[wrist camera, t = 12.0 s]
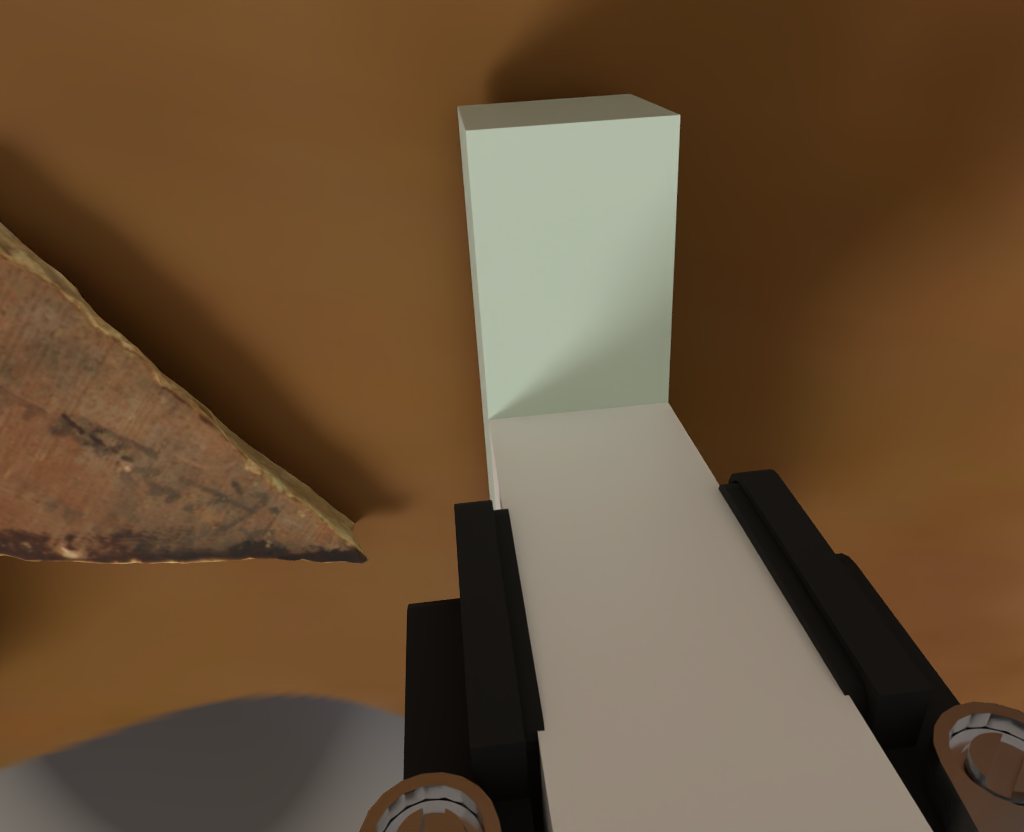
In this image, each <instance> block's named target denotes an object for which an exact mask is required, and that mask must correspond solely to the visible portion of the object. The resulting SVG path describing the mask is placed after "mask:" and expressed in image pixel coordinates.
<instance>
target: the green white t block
mask: <svg viewBox="0 0 1024 832" xmlns="http://www.w3.org/2000/svg"><path fill="white" fill-rule="evenodd" d="M457 107H458V119H459V131H460V143H461V155H462V167H463V179H464V191H465V203H466V215H467V228H468V240H469V252H470V264H471V276H472V288H473V300H474V312H475V324H476V336H477V348H478V360H479V372H480V384H481V396H482V408H483V420H484V432H485V444H486V456H487V468H488V480H489V492H490V500H492V502H493V509H494V510H499V509H508V510H509V515H510V521H511V527H512V533H513V539H514V545H515V551H516V557H517V563H518V569H519V575H520V581H521V587H522V593H523V599H524V605H525V611H526V617H527V623H528V629H529V635H530V641H531V647H532V653H533V659H534V665H535V671H536V677H537V683H538V689H539V695H540V701H541V707H542V714H543V720H544V728H545V731H537V732H538V741H539V752H540V769H541V787H542V805H543V824H544V832H933V831H932V829H931V827H930V826H929V824H928V822H927V821H926V819H925V818H924V816H923V814H922V813H921V811H920V809H919V808H918V806H917V805H916V803H915V801H914V800H913V798H912V797H911V795H910V793H909V792H908V790H907V788H906V787H905V785H904V784H903V782H902V780H901V779H900V777H899V775H898V774H897V772H896V771H895V769H894V767H893V766H892V764H891V763H890V761H889V759H888V758H887V756H886V754H885V753H884V751H883V750H882V748H881V746H880V745H879V743H878V741H877V740H876V738H875V737H874V735H873V733H872V732H871V730H870V728H869V727H868V725H867V724H866V722H865V720H864V719H863V717H862V716H861V714H860V712H859V711H858V709H857V707H856V706H855V704H854V703H853V701H852V699H851V698H850V696H849V695H846V696H845V695H844V694H843V692H842V691H841V689H840V687H839V686H838V684H837V682H836V681H835V679H834V677H833V676H832V674H831V673H830V671H829V669H828V668H827V666H826V664H825V663H824V661H823V659H822V658H821V656H820V654H819V653H818V651H817V650H816V648H815V646H814V645H813V643H812V641H811V640H810V638H809V636H808V635H807V633H806V632H805V630H804V628H803V627H802V625H801V623H800V622H799V620H798V618H797V617H796V615H795V614H794V612H793V610H792V609H791V607H790V605H789V604H788V602H787V600H786V599H785V597H784V596H783V594H782V592H781V591H780V589H779V587H778V586H777V584H776V582H775V581H774V579H773V578H772V576H771V574H770V573H769V571H768V569H767V568H766V566H765V564H764V563H763V561H762V560H761V558H760V556H759V555H758V553H757V551H756V550H755V548H754V546H753V545H752V543H751V541H750V540H749V538H748V537H747V535H746V533H745V532H744V530H743V528H742V527H741V525H740V523H739V522H738V520H737V519H736V517H735V515H734V514H733V512H732V510H731V509H730V507H729V505H728V504H727V502H726V501H725V499H724V497H723V496H722V494H721V492H720V491H719V489H718V488H719V486H720V485H719V484H718V482H717V481H716V479H715V477H714V476H713V474H712V473H711V471H710V469H709V468H708V466H707V464H706V463H705V461H704V460H703V458H702V456H701V455H700V453H699V451H698V450H697V448H696V447H695V445H694V443H693V442H692V440H691V439H690V437H689V435H688V434H687V432H686V430H685V429H684V427H683V426H682V424H681V422H680V421H679V419H678V417H677V416H676V414H675V413H674V411H673V409H672V408H671V406H670V404H669V403H668V395H669V371H670V348H671V324H672V301H673V277H674V254H675V231H676V207H677V184H678V160H679V137H680V114H677V113H675V112H672V111H670V110H668V109H665V108H663V107H661V106H658V105H656V104H653V103H651V102H649V101H646V100H644V99H641V98H639V97H637V96H634V95H632V94H620V95H606V96H592V97H578V98H564V99H550V100H536V101H522V102H508V103H494V104H480V105H466V106H457Z"/></svg>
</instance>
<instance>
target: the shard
mask: <svg viewBox="0 0 1024 832" xmlns="http://www.w3.org/2000/svg"><path fill="white" fill-rule="evenodd" d="M353 528H354V523H353V522H352V521H351V520H350V519H349V518H348V517H346V516H345V515H344V514H342V513H341V512H339V511H337V510H336V509H335V508H334V507H332V506H331V505H330V504H329V503H328V502H327V501H326V500H324V499H323V498H322V497H320V496H319V495H317V494H316V493H315V492H314V491H313V490H312V489H311V488H310V487H309V486H307V485H306V484H304V483H303V482H301V481H300V480H298V479H297V478H296V477H294V476H293V475H291V474H290V473H288V472H287V471H286V470H285V469H283V468H281V467H280V466H278V465H276V464H275V463H273V462H272V461H270V460H269V459H268V458H267V457H265V456H264V455H263V454H261V453H260V452H258V451H257V450H255V449H254V448H253V447H251V446H250V445H248V444H247V443H246V442H244V441H243V440H242V439H241V438H239V437H238V436H237V435H236V434H235V433H233V432H232V431H231V430H229V429H228V428H227V427H226V426H225V425H224V424H223V423H222V422H221V421H220V420H219V419H218V418H217V417H216V416H215V415H214V414H213V413H212V411H210V410H209V409H208V408H207V407H206V406H204V405H203V404H202V403H201V402H199V401H198V400H197V399H195V398H194V397H193V396H191V395H190V394H189V393H188V392H187V391H186V390H185V389H183V388H182V387H181V386H179V385H178V384H176V383H175V382H174V381H172V380H171V379H170V378H168V377H167V376H166V375H164V374H163V373H161V372H160V371H159V369H158V368H157V367H156V366H155V365H154V363H153V362H151V361H150V360H149V359H148V358H147V357H146V356H145V355H144V354H143V353H142V352H141V351H140V350H139V349H138V348H137V347H136V346H135V345H133V344H132V343H131V342H129V341H128V340H127V339H126V338H125V337H124V336H123V335H122V334H121V333H120V332H118V331H117V330H115V329H114V328H113V327H112V326H110V325H109V324H108V323H107V322H105V321H104V320H103V319H102V318H100V317H99V316H98V315H97V314H96V313H95V311H94V310H93V309H92V308H91V307H90V305H89V304H88V303H87V302H86V301H85V300H84V299H83V298H82V297H81V295H80V293H79V291H78V289H77V288H76V287H75V286H74V285H73V284H72V283H70V282H69V281H68V280H67V279H66V278H65V277H64V276H63V275H62V274H61V273H60V272H58V271H57V270H56V269H54V268H53V267H51V266H50V265H49V264H47V263H46V262H44V261H43V260H42V259H40V258H39V257H38V256H37V255H36V254H35V253H34V252H33V251H31V250H30V249H29V248H28V247H27V246H26V245H24V244H22V242H21V241H20V240H19V239H18V238H17V237H16V236H15V235H14V234H12V233H11V232H10V231H9V230H8V229H7V228H6V227H5V226H4V225H3V224H2V223H1V222H0V556H2V555H6V556H11V557H15V558H18V559H21V560H26V561H50V562H59V561H76V562H89V563H101V564H127V563H136V562H138V563H144V564H153V563H183V564H184V563H195V562H216V561H239V560H245V559H275V558H278V559H282V560H300V559H302V560H306V561H314V562H318V563H330V562H352V563H364V562H367V561H368V559H369V557H368V556H367V555H366V553H365V552H364V551H363V550H362V549H361V547H360V544H359V542H358V540H357V539H356V537H355V535H354V534H353V532H352V530H353Z"/></svg>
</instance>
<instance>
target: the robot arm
mask: <svg viewBox="0 0 1024 832" xmlns="http://www.w3.org/2000/svg"><path fill="white" fill-rule="evenodd" d="M718 489H719V491H720V492H721V494H722V496H723V497H724V499H725V501H726V502H727V504H728V505H729V507H730V509H731V510H732V512H733V514H734V515H735V517H736V519H737V520H738V522H739V523H740V525H741V527H742V528H743V530H744V532H745V533H746V535H747V537H748V538H749V540H750V541H751V543H752V545H753V546H754V548H755V550H756V551H757V553H758V555H759V556H760V558H761V560H762V561H763V563H764V564H765V566H766V568H767V569H768V571H769V573H770V574H771V576H772V578H773V579H774V581H775V582H776V584H777V586H778V587H779V589H780V591H781V592H782V594H783V596H784V597H785V599H786V600H787V602H788V604H789V605H790V607H791V609H792V610H793V612H794V614H795V615H796V617H797V618H798V620H799V622H800V623H801V625H802V627H803V628H804V630H805V632H806V633H807V635H808V636H809V638H810V640H811V641H812V643H813V645H814V646H815V648H816V650H817V651H818V653H819V654H820V656H821V658H822V659H823V661H824V663H825V664H826V666H827V668H828V669H829V671H830V673H831V674H832V676H833V677H834V679H835V681H836V682H837V684H838V686H839V687H840V689H841V691H842V692H843V694H844V695H845V696H846V695H849V696H850V698H851V699H852V701H853V703H854V704H855V706H856V707H857V709H858V711H859V712H860V714H861V716H862V717H863V719H864V720H865V722H866V724H867V725H868V727H869V728H870V730H871V732H872V733H873V735H874V737H875V738H876V740H877V741H878V743H879V745H880V746H881V748H882V750H883V751H884V753H885V754H886V756H887V758H888V759H889V761H890V763H891V764H892V766H893V767H894V769H895V771H896V772H897V774H898V775H899V777H900V779H901V780H902V782H903V784H904V785H905V787H906V788H907V790H908V792H909V793H910V795H911V797H912V798H913V800H914V801H915V803H916V805H917V806H918V808H919V809H920V811H921V813H922V814H923V816H924V818H925V819H926V821H927V822H928V824H929V826H930V827H931V829H932V831H933V832H1024V712H1021V711H1019V710H1016V709H1013V708H1009V707H1006V706H1002V705H999V704H995V703H982V702H971V703H965V704H960V703H959V702H958V701H957V699H956V698H955V696H954V695H953V694H952V692H951V691H950V690H949V688H948V687H947V686H946V684H945V683H944V682H943V680H942V679H941V678H940V676H939V675H938V674H937V672H936V671H935V670H934V668H933V667H932V666H931V664H930V663H929V662H928V660H927V659H926V658H925V656H924V655H923V653H922V652H921V651H920V649H919V648H918V647H917V645H916V644H915V643H914V641H913V640H912V639H911V637H910V636H909V635H908V633H907V632H906V631H905V629H904V628H903V627H902V625H901V624H900V623H899V621H898V620H897V619H896V617H895V616H894V614H893V613H892V612H891V610H890V609H889V608H888V606H887V605H886V604H885V602H884V601H883V600H882V598H881V597H880V596H879V594H878V593H877V592H876V590H875V589H874V588H873V586H872V585H871V584H870V582H869V581H868V580H867V578H866V577H865V575H864V574H863V573H862V571H861V570H860V569H859V567H858V566H857V565H856V564H855V563H854V561H853V560H852V559H851V558H850V557H849V556H846V555H844V554H842V553H841V554H835V553H834V552H833V550H832V549H831V547H830V546H829V545H828V543H827V542H826V540H825V539H824V538H823V536H822V535H821V533H820V532H819V531H818V529H817V528H816V527H815V525H814V524H813V522H812V521H811V520H810V518H809V517H808V515H807V514H806V513H805V511H804V510H803V508H802V507H801V506H800V504H799V503H798V502H797V500H796V499H795V497H794V496H793V495H792V493H791V492H790V490H789V489H788V488H787V486H786V485H785V484H784V482H783V481H782V479H781V478H780V477H779V475H778V474H777V473H776V472H775V471H774V470H771V469H768V470H759V471H750V472H741V473H734V474H732V475H731V477H730V479H729V484H724V485H720V486H719V488H718ZM454 510H455V525H456V541H457V556H458V572H459V588H460V598H457V599H449V600H440V601H432V602H423V603H415V604H409V605H408V609H407V641H406V689H405V738H404V740H405V741H404V780H403V781H401V782H399V783H398V784H397V785H395V786H394V787H392V788H391V789H389V790H388V791H387V792H385V793H384V794H383V795H382V796H381V797H380V798H379V799H378V801H377V802H376V803H375V804H374V805H373V806H372V807H371V809H370V810H369V811H368V813H367V816H366V818H365V820H364V822H363V824H362V826H361V829H360V831H359V832H544V824H543V805H542V787H541V769H540V752H539V741H538V732H537V731H545V728H544V720H543V714H542V707H541V701H540V695H539V689H538V683H537V677H536V671H535V665H534V659H533V653H532V647H531V641H530V635H529V629H528V623H527V617H526V611H525V605H524V599H523V593H522V587H521V581H520V575H519V569H518V563H517V557H516V551H515V545H514V539H513V533H512V527H511V521H510V515H509V510H508V509H499V510H494V509H493V502H492V500H487V501H478V502H469V503H460V504H454Z"/></svg>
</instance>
